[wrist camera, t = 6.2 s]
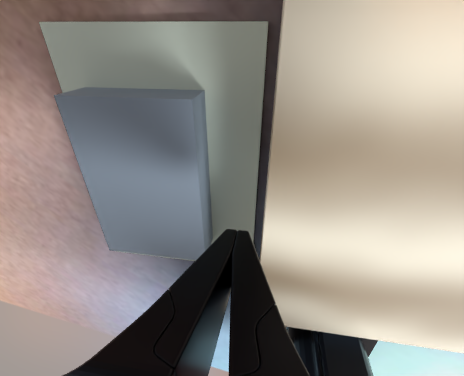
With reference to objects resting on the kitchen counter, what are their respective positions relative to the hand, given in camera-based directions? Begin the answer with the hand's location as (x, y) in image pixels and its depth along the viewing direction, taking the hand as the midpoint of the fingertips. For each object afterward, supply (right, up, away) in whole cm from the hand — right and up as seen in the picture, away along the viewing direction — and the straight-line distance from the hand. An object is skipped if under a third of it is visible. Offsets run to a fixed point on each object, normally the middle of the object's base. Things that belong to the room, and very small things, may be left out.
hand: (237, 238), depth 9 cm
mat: (-4, +3, +5) cm, 7 cm away
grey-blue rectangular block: (-5, +2, +3) cm, 6 cm away
